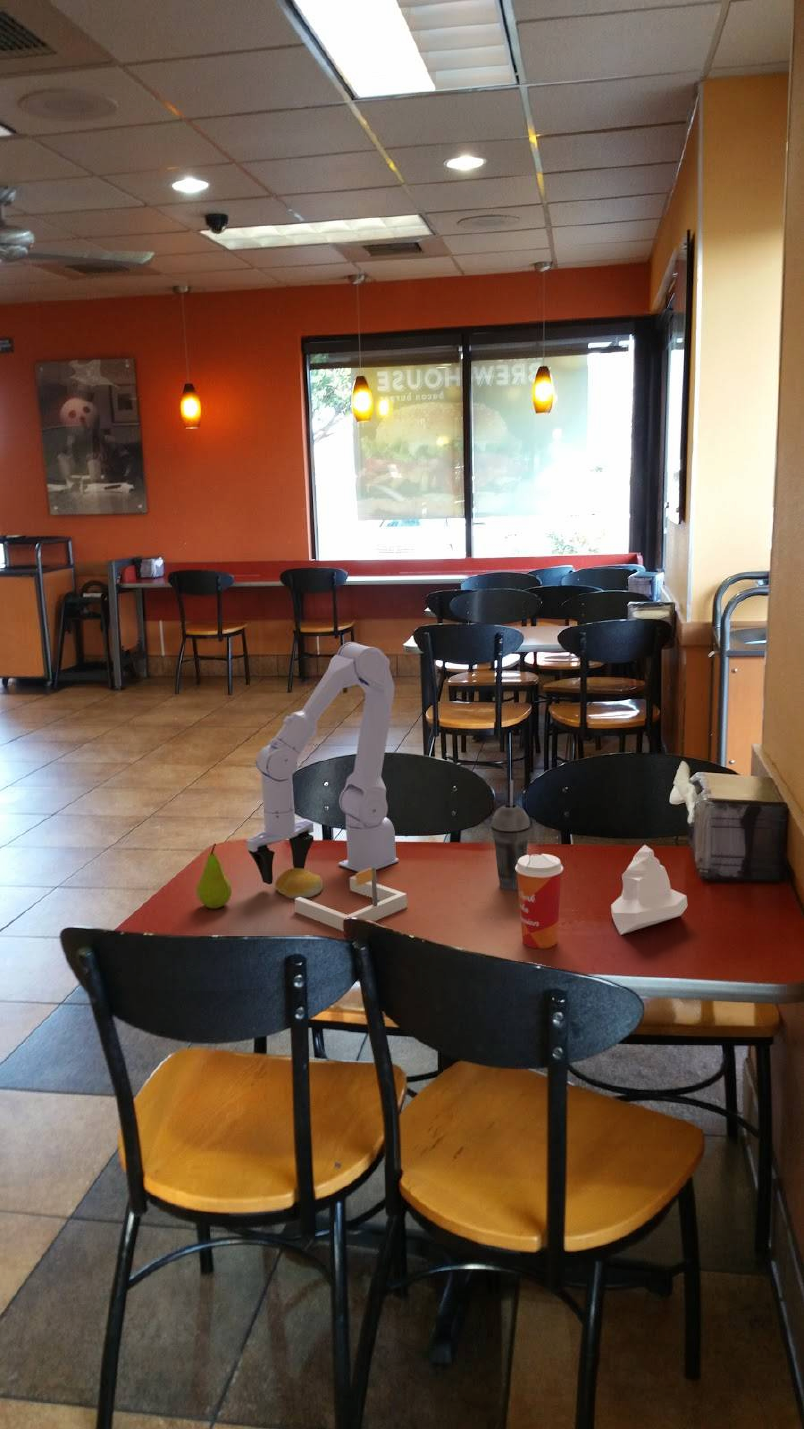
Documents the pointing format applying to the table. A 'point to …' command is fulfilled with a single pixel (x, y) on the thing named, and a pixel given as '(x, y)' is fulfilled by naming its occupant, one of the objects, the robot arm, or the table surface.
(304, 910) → the pocket
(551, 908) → the paper cup
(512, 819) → the beverage cup
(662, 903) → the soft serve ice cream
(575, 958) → the table surface
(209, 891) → the fruit
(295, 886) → the bread roll
